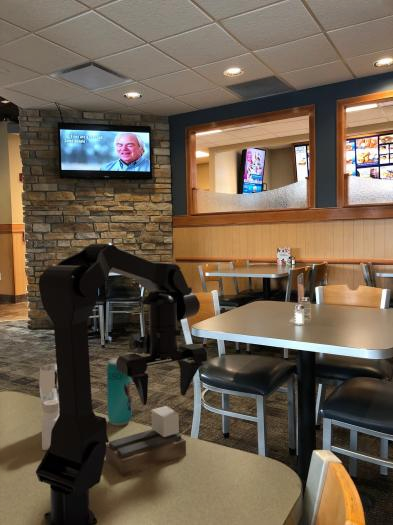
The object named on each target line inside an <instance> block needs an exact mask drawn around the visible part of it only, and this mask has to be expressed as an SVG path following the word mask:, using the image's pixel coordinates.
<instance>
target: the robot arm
mask: <svg viewBox="0 0 393 525" xmlns="http://www.w3.org/2000/svg"><path fill="white" fill-rule="evenodd" d="M110 272H112V273H114V274H117V275H120V276H124V277H127V278H130V279H132V280H135V281H136V282H138V285H139V286H140V287H142V288H144V289H145V290H147V291H150V292H149V293H148V295H147V296H146V297H145V298H144V299H143V300H142V304H143V305H147V306H148V326H149V327H148V328H145V336H144V335H143V336H141V335H140V333H133V334H130V335H129V336H128V348H129V350H130V351H135V350H136V351H137V353H135V352H134V353H128V354H122V355H119V356H118V357H117V358H118V359H117V361H116V370H118V371H120V372H122V373H123V374H125V375H127V376H129V377H131V381H133V382H132V383H133V384H134V386H135V388H136V391H137V393H138V397H139V400H140V401H141V402H140V403H141V404H142V405H143V406H147V403H148V393H149V374H148V373H146V371H147V370H148V367H149V366H155V365H161V364H165V363H171V362H177V363H178V366H179V369H180V370H179V375H180V376H179V388H180V389H179V391H180V395H181V396H182V397H184V396H186V394H187V393H188V390H189V387H190V386H191V383H192V381H193V379H194V377H195V376H196V374H197V372H198V371H199V368H200V367H202V366H203V365H204V363H203V362H208V360H209V359H208V357H209V356H208V351H207V349H206V346H201V345H199V344H196V343H188V344H182V345H180V346H179V347H178V336H181V335H182V334H181V332H182V331H181V329H178V321H183V320H185V319H188V318H193V317H195V316H196V315H197V314H198V313H199V311H200V308H201V304H200V301H199V299H198V296H196V294H195V293H193V288H192V287H191V286H190V287H189V285H188V283H187V281H186V278H185V277H184V274H183V272H182V271H181V267H180V266H179V264H177V263H171V262H160V261H157V262H156V261H152V260H149V259H146V258H144V257H142V256H139V255H136V254H133V253H131V252H128V251H126V250H124V249H121V248H119V247H117V246H116V245H114V244H112V243H110V242H109V243H104V242H102V243H91V244H89V245H87V246H85V247H84V248H83V249H82V250H80V251H79V252H76V253H75V254H73V255H71V256H68V257H66V258H64V259H62V260H60V261H59V262H57V264H53V265H50V266H48V267H47V268H46V269H44V271H43V273H42V274H40V275H39V279H38V290H39V294H40V298H41V299H40V300H41V303H42V304H41V305H42V307H43V309H44V311H45V312H46V314H47V315H48V317H49V319H50V320H51V322H52V324H53V331H54V332H53V333H54V334H53V335H54V344H55V345H54V346H55V363H56V364H57V379H58V395H59V410H60V414H59V417H58V419H57V421H56V422H55V424H54V426H53V428H52V431H51V444H50V447H49V448H48V450H46V452H45V454H44V456H43V457H42V459H41V461H40V463H39V465H38V466H37V467H36V470H35V474H36V477H37V480H38V481H39V482H40V483H44V484H48V485H49V487H50V488H49V489H50V493H49V494H50V496H49V497H50V511H48V512H46V513H44V515H43V519H44V521H45V522H46V525H96V524H98V518H97V516H96V515H95V514H94V512H93V511H92V509H91V508H90V489H92V488H93V487H95V486H97V485H98V484H99V483H100V482H101V479H102V478H101V477H102V473H103V468H104V463H105V460H106V459H105V454H106V444H109V442H110V441H109V438H108V433H107V432H108V421H107V419H106V417H103V416H99V415H96V414H95V412H94V410H93V401H92V400H93V399H92V384H91V382H92V381H91V380H92V379H91V367H90V362H91V361H90V349H89V347H90V346H89V331H88V330H89V329H88V321H89V318H90V317H91V315H92V313H93V312H94V309H95V308H96V304H97V292H98V290H99V289H100V288H102V286H103V285H104V284H105V283H106V282H107V281H108V279H109V276H110ZM141 354H145V355H148V356H141Z"/></svg>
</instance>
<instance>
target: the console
mask: <svg viewBox="0 0 393 525" xmlns="http://www.w3.org/2000/svg"><path fill="white" fill-rule="evenodd" d="M186 455H187V441H186V439H184V438H183V437H182V435H181V434H179V433H176V434H173V435H169V436H166V437H163V436H162V435H160V434H159V433H157V432H156V431H155V430H153V429H152V428H151V429H149V430H144V431H142V432H138V433H133V434H131V435H128V436H124V437H120V438H117V439H113V440H110V441H109V442H108V443H106V454H105V459H104V460H106V461H107V462H108V464H109V465H110V466H111V467H112V468H113V469H114V470H115V471H116V472H117V473H118V474H119V475H120V476H121V477H122V478H123V477H125V476H129V475H132V474H134V473H135V474H136V473H137V472H140V471H143V470H147V469H150V468H153V467H155V466H159V465H161V464H164V463H167V462H170V461H173V460H176V459H179V458H181V457H185V456H186Z"/></svg>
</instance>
